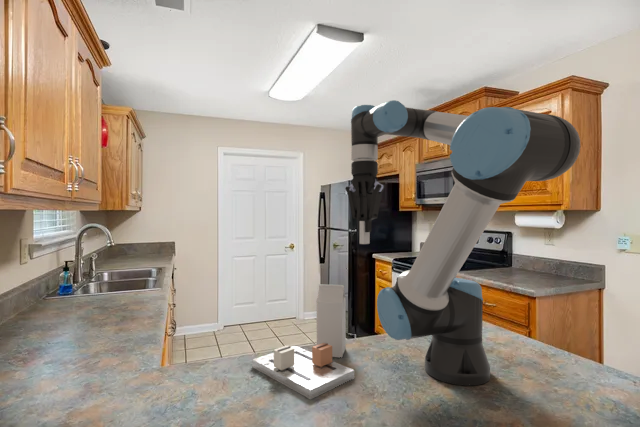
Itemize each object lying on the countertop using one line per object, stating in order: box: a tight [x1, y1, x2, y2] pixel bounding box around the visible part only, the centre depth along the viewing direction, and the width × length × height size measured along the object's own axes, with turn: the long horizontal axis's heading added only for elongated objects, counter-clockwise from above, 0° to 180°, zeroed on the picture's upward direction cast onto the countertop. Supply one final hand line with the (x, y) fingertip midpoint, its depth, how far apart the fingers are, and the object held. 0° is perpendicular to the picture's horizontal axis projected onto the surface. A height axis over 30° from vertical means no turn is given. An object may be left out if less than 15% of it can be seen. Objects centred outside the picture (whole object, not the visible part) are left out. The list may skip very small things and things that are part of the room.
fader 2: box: [311, 343, 333, 367], centre depth 90 cm, size 3×4×4 cm
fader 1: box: [273, 345, 294, 370], centre depth 88 cm, size 3×4×4 cm
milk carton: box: [316, 283, 347, 359], centre depth 102 cm, size 7×7×19 cm
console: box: [251, 345, 355, 400], centre depth 89 cm, size 22×14×2 cm, turn 44°
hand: (364, 243), depth 104 cm, fingers closed
